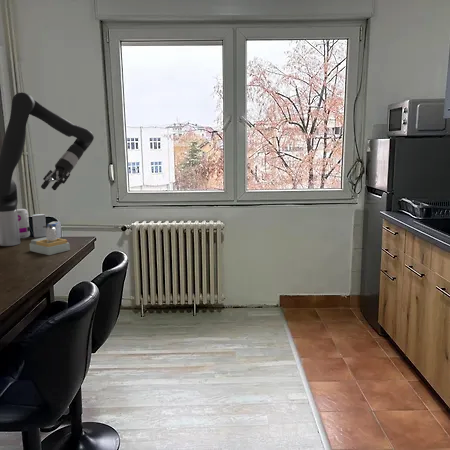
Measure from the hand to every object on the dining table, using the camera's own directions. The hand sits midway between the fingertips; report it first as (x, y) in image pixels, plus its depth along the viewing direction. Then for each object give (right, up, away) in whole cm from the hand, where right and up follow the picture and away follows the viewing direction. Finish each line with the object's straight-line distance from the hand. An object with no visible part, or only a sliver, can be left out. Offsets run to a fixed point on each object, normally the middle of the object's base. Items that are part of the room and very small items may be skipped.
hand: (47, 188), depth 197 cm
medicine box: (-7, -25, +26) cm, 37 cm away
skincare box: (-17, -24, +32) cm, 43 cm away
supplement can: (-27, -24, +32) cm, 48 cm away
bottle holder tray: (+1, -29, +1) cm, 29 cm away
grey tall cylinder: (+2, -29, 0) cm, 29 cm away
